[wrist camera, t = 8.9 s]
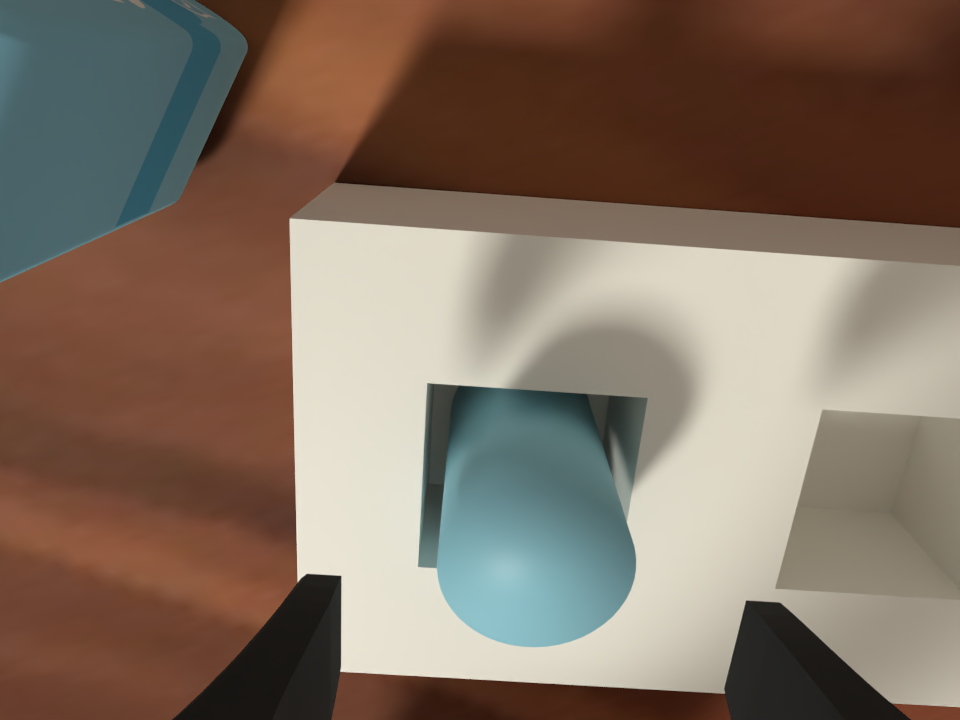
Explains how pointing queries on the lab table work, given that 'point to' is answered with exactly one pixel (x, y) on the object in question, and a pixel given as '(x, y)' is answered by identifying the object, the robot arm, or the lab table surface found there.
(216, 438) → the lab table surface
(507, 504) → the pin
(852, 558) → the hole board
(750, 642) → the robot arm
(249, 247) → the lab table surface
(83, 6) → the data package
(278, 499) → the lab table surface
